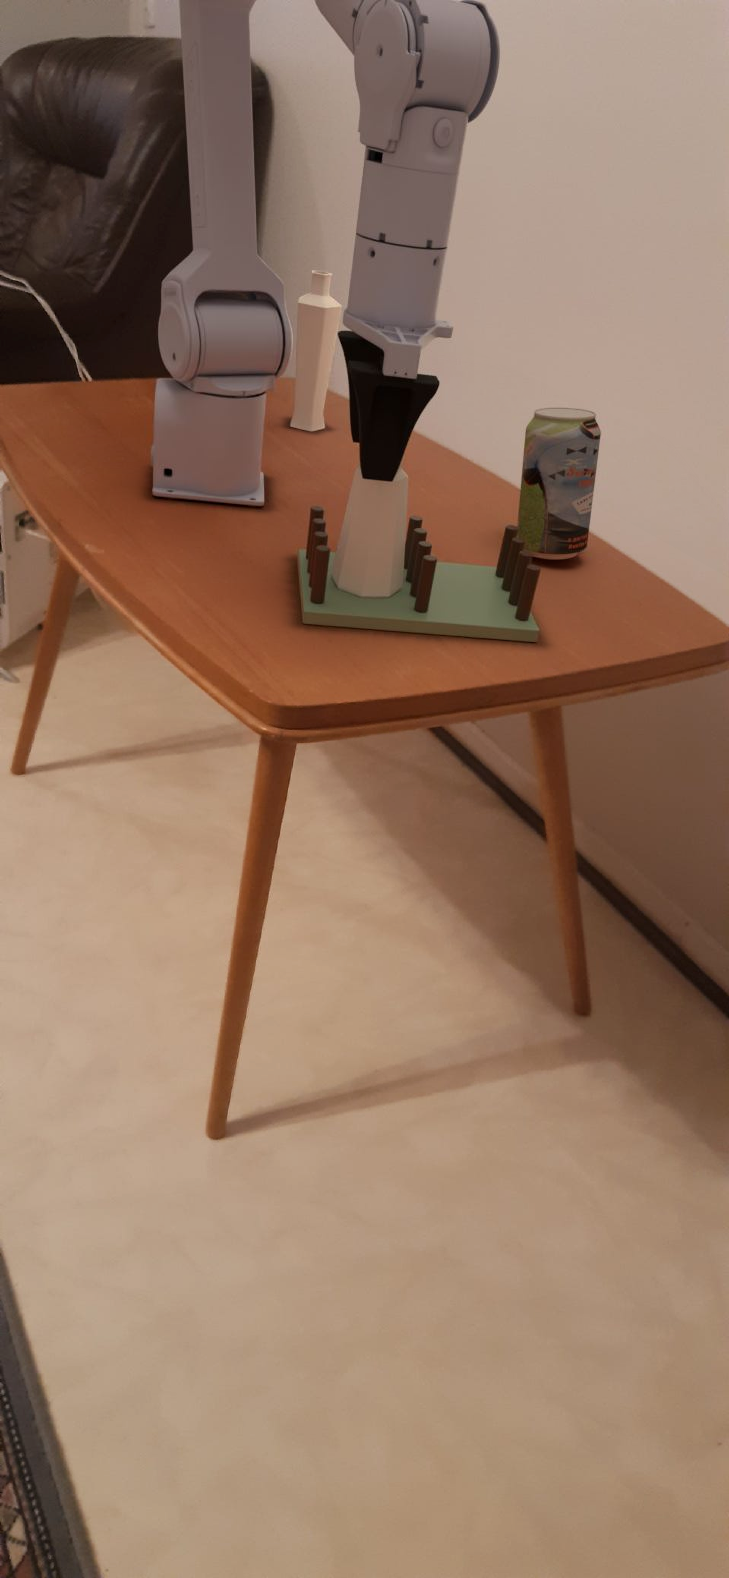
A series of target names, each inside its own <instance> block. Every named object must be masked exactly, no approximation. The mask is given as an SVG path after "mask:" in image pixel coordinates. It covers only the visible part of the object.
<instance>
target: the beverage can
mask: <svg viewBox="0 0 729 1578" xmlns="http://www.w3.org/2000/svg"><path fill="white" fill-rule="evenodd" d="M533 413H534V414H533V417H532V419H531V420H530V421H529V422H528V423H527V425H526V427H525V434H524V445H523V446H524V447H523V455H522V456H523V458H522V468H521V478H520V479H521V480H520V490H519V491H520V492H519V493H520V494H519V501H518V512H517V513H518V514H517V523H516V524H517V526H516V527H518V533H517V538H522V539H524V540H525V546H524V550H523V551H529V552H531V553H532V554H533V557H534V558H538V559H544V560H566V559H571V558H574V557H576V556H577V555H578V554H579V553H580V552H582V551H584V550H585V549H587V547H588V542H589V533H590V526H591V525H590V524H591V517H592V508H593V501H594V492H595V485H596V484H595V483H596V476H597V469H598V459H599V451H600V443H601V435H602V434H601V433H602V431H601V428H600V426H599V424H598V421H597V419H596V416H597V414H596V412H594V411H592V410H588V409H583V408H576V407H574V408H573V407H542V408H537V409H535V410H534V411H533Z"/></svg>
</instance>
